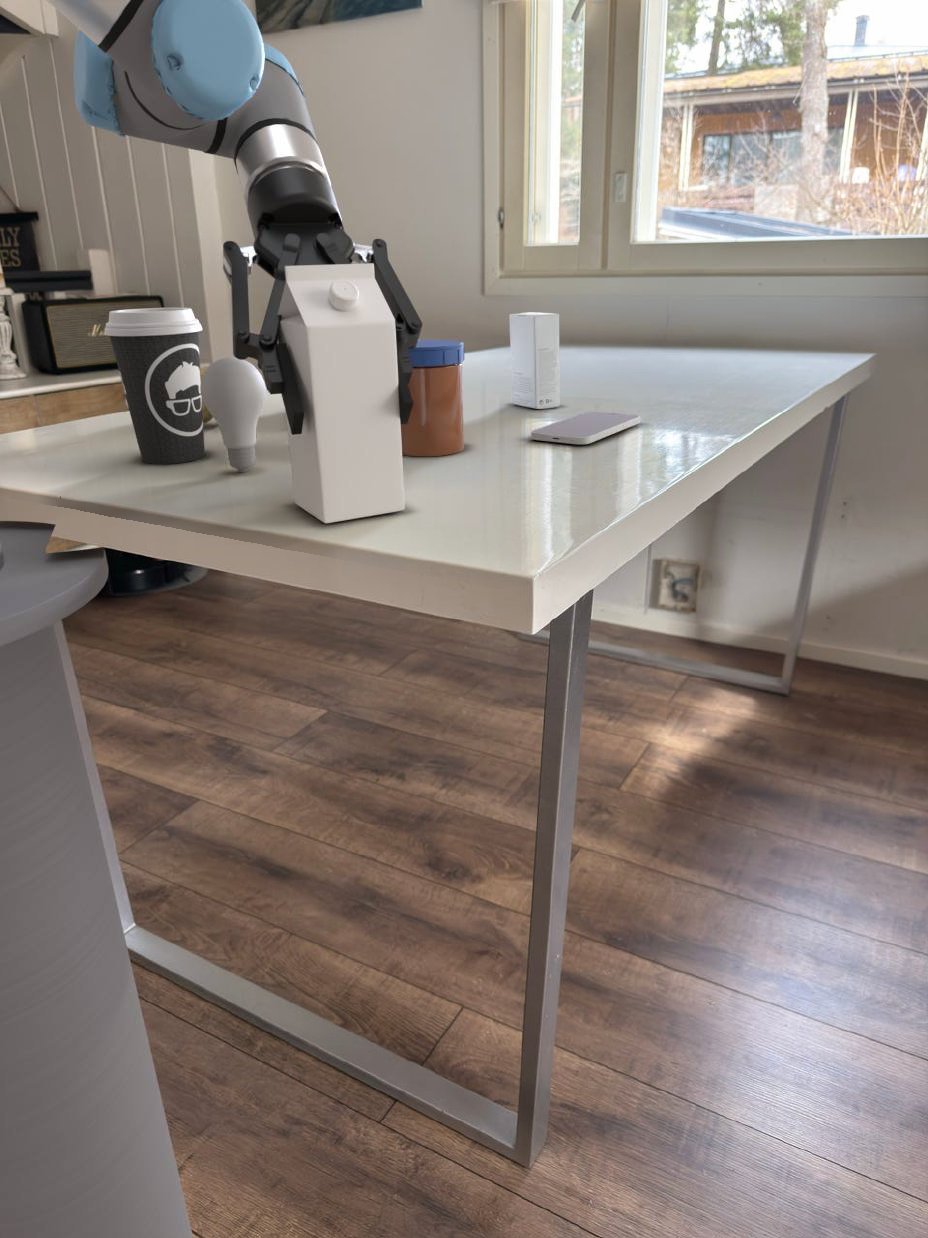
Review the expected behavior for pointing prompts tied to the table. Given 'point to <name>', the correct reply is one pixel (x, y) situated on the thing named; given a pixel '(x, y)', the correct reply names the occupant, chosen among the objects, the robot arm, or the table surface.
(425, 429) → the jar
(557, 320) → the cosmetic box
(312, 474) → the milk carton
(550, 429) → the smartphone
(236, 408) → the lightbulb
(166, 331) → the coffee cup
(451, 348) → the jar lid
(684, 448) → the table surface
